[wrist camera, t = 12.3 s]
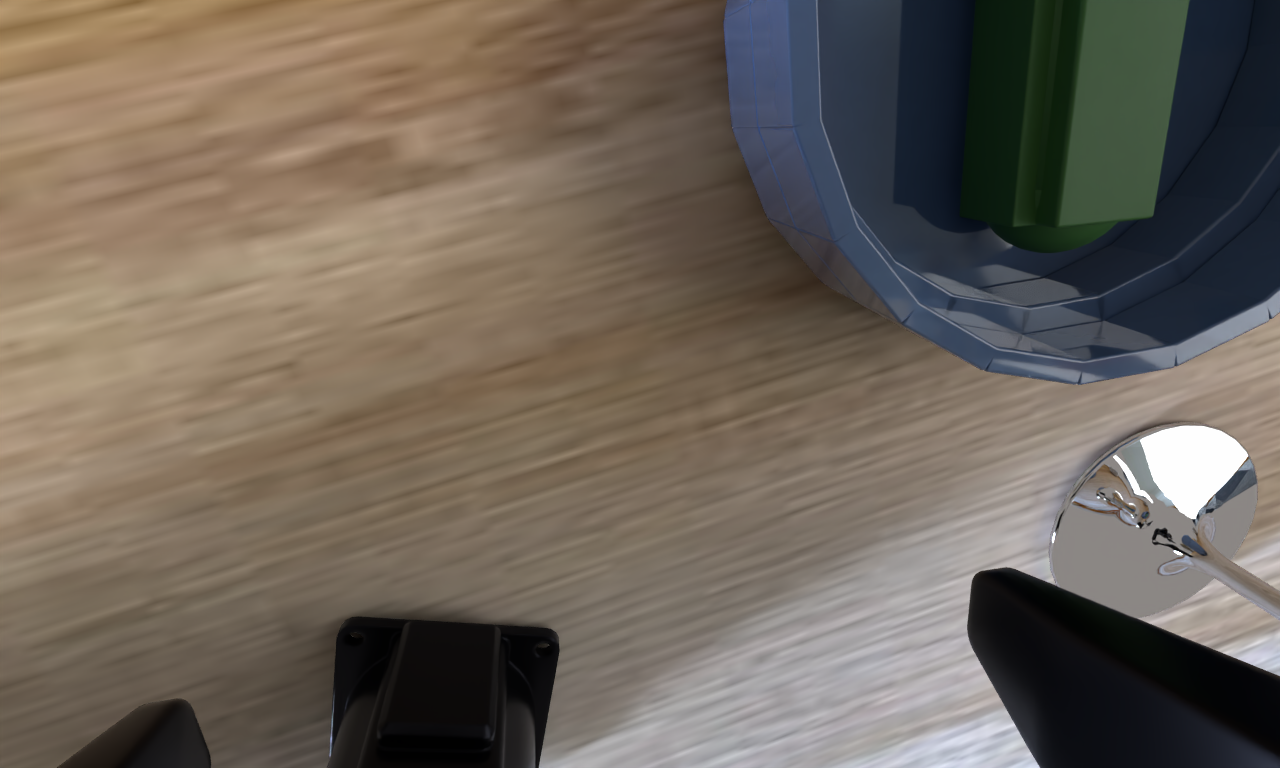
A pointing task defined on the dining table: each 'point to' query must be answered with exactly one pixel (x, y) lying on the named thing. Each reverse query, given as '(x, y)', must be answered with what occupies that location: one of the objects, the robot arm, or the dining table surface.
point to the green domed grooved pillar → (1068, 116)
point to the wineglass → (1160, 522)
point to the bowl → (969, 249)
